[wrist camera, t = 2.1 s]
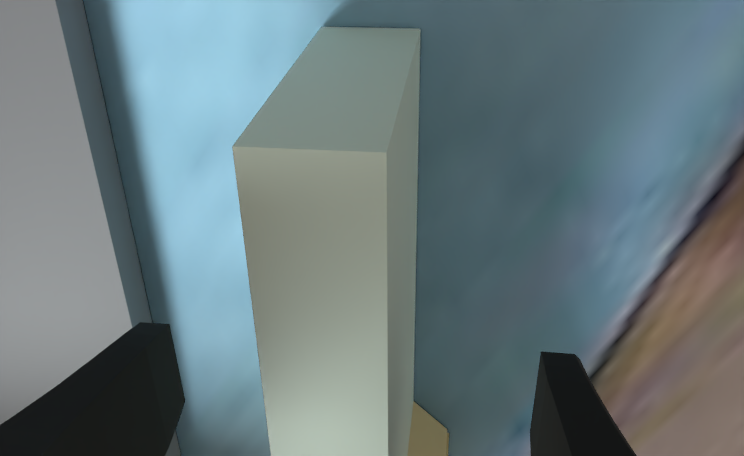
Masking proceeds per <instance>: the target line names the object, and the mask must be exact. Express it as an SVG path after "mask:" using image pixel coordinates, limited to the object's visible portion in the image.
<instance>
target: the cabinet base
mask: <svg viewBox="0 0 744 456" xmlns="http://www.w3.org/2000/svg"><path fill="white" fill-rule="evenodd" d="M140 322H144V323H152V319H151V314H150V309H149V305H148V300H147V296H146V291H145V286H144V282H143V277H142V272H141V268H140V263H139V259H138V254H137V249H136V245H135V240H134V235H133V231H132V226H131V222H130V217H129V212H128V208H127V203H126V198H125V194H124V189H123V185H122V180H121V175H120V171H119V166H118V161H117V157H116V152H115V148H114V143H113V138H112V134H111V129H110V124H109V120H108V115H107V111H106V106H105V101H104V97H103V92H102V87H101V83H100V78H99V74H98V69H97V64H96V60H95V55H94V50H93V46H92V41H91V37H90V32H89V27H88V23H87V18H86V14H85V9H84V4H83V0H0V424H2V423H4V422H5V421H7V420H8V419H10V418H11V417H13V416H14V415H15V414H17V413H18V412H20V411H21V410H23V409H24V408H25V407H27V406H28V405H30V404H31V403H33V402H34V401H36V400H37V399H38V398H40V397H41V396H43V395H44V394H46V393H47V392H48V391H50V390H51V389H53V388H54V387H56V386H57V385H58V384H60V383H61V382H62V381H64V380H65V379H66V378H67V377H69V376H70V375H71V374H73V373H74V372H75V371H77V370H78V369H79V368H81V367H82V366H83V365H85V364H86V363H87V362H89V361H90V360H91V359H92V358H94V357H95V356H96V355H98V354H99V353H100V352H102V351H103V350H104V349H105V348H107V347H108V346H109V345H110V344H112V343H113V342H114V341H116V340H117V339H118V338H120V337H121V336H122V335H123V334H125V333H126V332H127V331H129V330H130V329H131V328H133V327H134V326H136V325H137V324H138V323H140ZM165 456H181V453H180V448H179V444H178V439H177V434H176V430H175V432H174V435H173V438H172V440H171V443H170V446H169V448H168V450H167V453H166V455H165Z"/></svg>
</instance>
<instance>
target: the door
mask: <svg viewBox="0 0 744 456" xmlns="http://www.w3.org/2000/svg"><path fill="white" fill-rule="evenodd" d="M420 34H421V29H419V28H365V27H321V28H320V29H319V31H318V32H317V33H316V35H315V36H314V37H313V39H312V40H311V41H310V43H309V44H308V45H307V47H306V48H305V49H304V51H303V52H302V53H301V55H300V56H299V58H298V59H297V60H296V62H295V63H294V64H293V66H292V67H291V68H290V70H289V71H288V72H287V74H286V75H285V76H284V78H283V79H282V80H281V82H280V83H279V84H278V86H277V87H276V88H275V90H274V91H273V92H272V94H271V95H270V97H269V98H268V99H267V101H266V102H265V103H264V105H263V106H262V107H261V109H260V110H259V111H258V113H257V114H256V115H255V117H254V118H253V119H252V121H251V122H250V123H249V125H248V126H247V127H246V129H245V130H244V132H243V133H242V134H241V136H240V137H239V138H238V140H237V141H236V142H235V144H234V145H233V146H232V148H233V156H234V164H235V172H236V180H237V188H238V196H239V204H240V212H241V220H242V228H243V236H244V244H245V252H246V260H247V268H248V276H249V284H250V292H251V300H252V308H253V316H254V324H255V332H256V340H257V348H258V356H259V364H260V372H261V380H262V388H263V396H264V404H265V412H266V420H267V428H268V436H269V444H270V452H271V456H448V447H449V433H447V429H446V428H445V427H444V426H443V425H442V424H440V423H439V422H438V421H437V420H436V419H434V418H433V417H432V416H431V415H430V414H428V413H427V412H426V411H425V410H424V409H422V408H421V407H420V406H419V405H418V404H416V403H415V402H414V401H413V400H414V347H415V295H416V243H417V191H418V139H419V86H420Z"/></svg>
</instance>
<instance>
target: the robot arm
mask: <svg viewBox="0 0 744 456" xmlns="http://www.w3.org/2000/svg"><path fill="white" fill-rule="evenodd" d="M184 403H185V398H184V393H183V388H182V384H181V379H180V374H179V369H178V364H177V359H176V354H175V349H174V344H173V339H172V335H171V330H170V325H169V324H158V323H144V322H140V323H138V324H137V325H136V326H134V327H133V328H131V329H130V330H129V331H127V332H126V333H125V334H123V335H122V336H121V337H120V338H118V339H117V340H116V341H114V342H113V343H112V344H110V345H109V346H108V347H107V348H105V349H104V350H103V351H102V352H100V353H99V354H98V355H96V356H95V357H94V358H92V359H91V360H90V361H89V362H87V363H86V364H85V365H83V366H82V367H81V368H79V369H78V370H77V371H75V372H74V373H73V374H71V375H70V376H69V377H67V378H66V379H65V380H64V381H62V382H61V383H60V384H58V385H57V386H56V387H54V388H53V389H51V390H50V391H48V392H47V393H46V394H44V395H43V396H41V397H40V398H38V399H37V400H36V401H34V402H33V403H31V404H30V405H28V406H27V407H25V408H24V409H23V410H21V411H20V412H18V413H17V414H15V415H14V416H13V417H11V418H10V419H8V420H7V421H5V422H4V423H2V424H0V456H165V455H166V453H167V450H168V448H169V446H170V443H171V440H172V438H173V435H174V432H175V430H176V427H177V424H178V421H179V418H180V415H181V412H182V409H183V406H184ZM530 442H531V456H636V454H635V453H634V451H633V450H632V448H631V447H630V445H629V444H628V442H627V441H626V439H625V438H624V436H623V434H622V433H621V431H620V430H619V428H618V427H617V425H616V424H615V422H614V421H613V419H612V417H611V416H610V414H609V412H608V411H607V409H606V407H605V406H604V404H603V402H602V400H601V399H600V397H599V395H598V394H597V392H596V390H595V388H594V386H593V384H592V383H591V381H590V379H589V377H588V375H587V373H586V371H585V369H584V367H583V365H582V363H581V361H580V359H579V358H578V357H577V356H576V355H575V354H565V353H552V352H541V356H540V363H539V370H538V377H537V385H536V392H535V399H534V407H533V414H532V421H531V429H530Z"/></svg>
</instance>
